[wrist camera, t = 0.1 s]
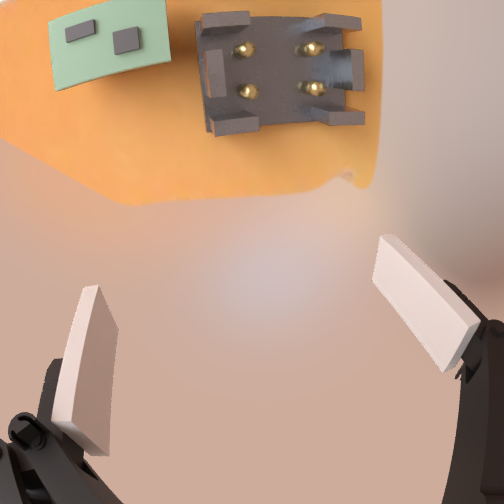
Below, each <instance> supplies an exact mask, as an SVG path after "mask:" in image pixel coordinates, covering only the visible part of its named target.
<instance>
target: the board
mask: <svg viewBox="0 0 504 504" xmlns="http://www.w3.org/2000/svg"><path fill="white" fill-rule="evenodd" d="M48 28H49V42H50V53H51V62H52V71H53V78H54V85H55V91H60V90H65V89H68V88H71V87H74V86H77V85H80V84H83V83H86V82H90V81H93V80H96V79H100V78H103V77H107V76H110V75H114V74H118V73H122V72H126V71H130V70H134V69H139V68H143V67H148V66H153V65H158V64H163V63H169V62H172V60H171V51H170V41H169V31H168V21H167V10H166V0H111V1H107V2H104V3H100V4H97V5H94V6H91V7H87V8H84V9H81V10H78V11H76V12H73V13H70V14H67V15H65V16H62V17H59V18H57V19H54V20H52V21H49V22H48Z"/></svg>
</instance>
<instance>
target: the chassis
mask: <svg viewBox="0 0 504 504" xmlns="http://www.w3.org/2000/svg"><path fill="white" fill-rule="evenodd" d="M361 30H362V25H361V18H358V17H352V16H344V15H336V14H327V13H323V14H320V15H318V16H315V17H312V18H305V17H273V16H268V17H250V13H249V11H233V12H218V13H207V14H202V16H201V19H200V21H195V34H196V44H197V53H198V63H199V72H200V81H201V90H202V99H203V107H204V116H205V124H206V131H207V132H213V134H214V136H215V137H217V136H224V135H231V134H239V133H247V132H256V131H259V126H262V125H272V124H284V123H297V122H314V121H318V122H321V123H324V124H327V125H329V126H335V125H364V122H365V112H364V111H360V110H357V109H353V108H349V107H345V90H352V91H364V57H363V50H356V49H344V50H343V41H342V33H348V32H354V31H361Z"/></svg>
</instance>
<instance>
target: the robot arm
mask: <svg viewBox="0 0 504 504" xmlns="http://www.w3.org/2000/svg"><path fill="white" fill-rule="evenodd" d="M372 282H373V283H374V284H375V285H376V286H377V288H378V289H379V290H380V291H381V293H382V294H383V295H384V296H385V298H386V299H387V300H388V301H389V302H390V304H391V305H392V306H393V307H394V309H395V310H396V311H397V313H398V314H399V315H400V316H401V318H402V319H403V320H404V321H405V323H406V324H407V325H408V327H409V328H410V329H411V331H412V332H413V333H414V335H415V336H416V337H417V339H418V340H419V341H420V342H421V344H422V345H423V347H424V348H425V349H426V351H427V352H428V354H429V355H430V356H431V357H432V359H433V360H434V362H435V363H436V364H437V366H438V367H439V369H440V370H441V371H442V373H445V372H446V371H448V370H450V369H452V368H454V367H455V366H456V365H457V363H458V361H459V360H460V358H462V360H463V361H464V363H463V365H462V366H461V368H460V370H459V371H458V373H457V374H456V376H455V379H457V378H458V377H459V375H460V374H461V378H460V380H461V390H460V403H459V413H458V422H457V430H456V437H455V444H454V450H453V455H452V461H451V466H450V471H449V476H448V480H447V485H446V488H445V492H444V496H443V500H442V504H504V323H503V322H501V321H499V320H488V319H487V318H486V317H485V316H484V315H483V314H482V313H481V312H480V311H479V309H478V308H477V307H476V306H475V305H474V304H473V303H472V302H471V301H470V300H468V298H467V297H466V296H465V295H464V294H462V292H461V291H460V290H459V289H458V288H457V287H456V286H455V285H454V284H452V283H450V282H448V281H447V280H442V279H441V278H440V277H439V276H438V275H437V274H435V273H434V272H433V271H432V270H431V269H430V268H429V267H428V266H427V265H426V264H425V263H424V262H423V261H422V260H421V259H420V258H419V257H418V256H417V255H416V254H414V253H413V252H412V251H411V250H410V249H409V248H408V247H407V246H406V245H405V244H404V243H402V242H401V241H400V240H399V239H398V238H397V237H396V236H395V235H393V234H387V235H381V236H380V239H379V246H378V251H377V258H376V262H375V268H374V273H373V278H372ZM117 336H118V327H117V325H116V323H115V321H114V319H113V317H112V314H111V312H110V310H109V308H108V305H107V303H106V301H105V299H104V296H103V294H102V292H101V289H100V287H99V285H95V286H89V287H84V288H83V291H82V294H81V297H80V300H79V303H78V307H77V310H76V314H75V316H74V320H73V323H72V327H71V331H70V334H69V338H68V342H67V345H66V349H65V353H64V357H63V358H61V359H54V360H53V361H52V363H51V364H50V366H49V368H48V369H47V372H46V376H45V380H44V381H45V383H44V385H43V392H42V394H41V399H40V403H39V408H38V414H37V418H36V417H35V416H34V415H33V414H30V413H28V412H22V413H19V414H18V415H16V416H15V417H14V418H13V419H12V420H11V422H10V425H9V428H8V434H9V439H10V440H11V441H12V443H8V444H7V443H6V442H4V441H3V440H2V439H0V504H123V503H122V502H121V501H120V500H119V499H118V498H117V497H116V495H115V494H114V493H113V492H112V491H111V490H110V489H109V488H108V487H107V485H106V484H105V483H104V482H103V481H102V480H101V479H100V477H99V476H98V475H97V474H96V472H95V471H94V470H93V469H92V467H91V466H90V465H89V464H88V462H87V461H86V460H85V459H84V458H83V456H84V451H86V452H87V453H88V454H89V455H91V456H109V443H110V442H109V441H110V413H111V397H112V384H113V372H114V362H115V353H116V345H117Z"/></svg>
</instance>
